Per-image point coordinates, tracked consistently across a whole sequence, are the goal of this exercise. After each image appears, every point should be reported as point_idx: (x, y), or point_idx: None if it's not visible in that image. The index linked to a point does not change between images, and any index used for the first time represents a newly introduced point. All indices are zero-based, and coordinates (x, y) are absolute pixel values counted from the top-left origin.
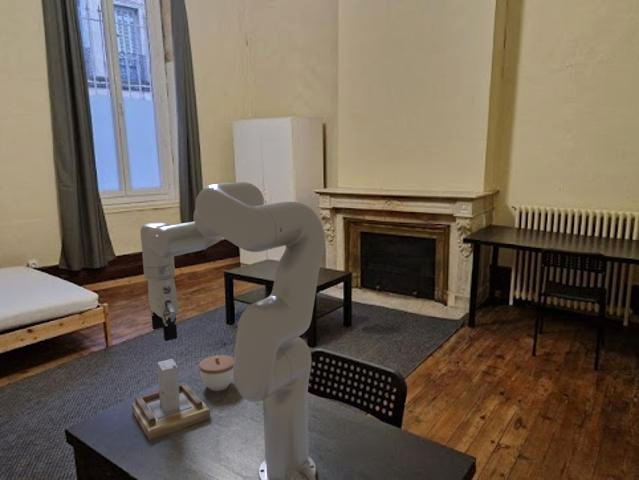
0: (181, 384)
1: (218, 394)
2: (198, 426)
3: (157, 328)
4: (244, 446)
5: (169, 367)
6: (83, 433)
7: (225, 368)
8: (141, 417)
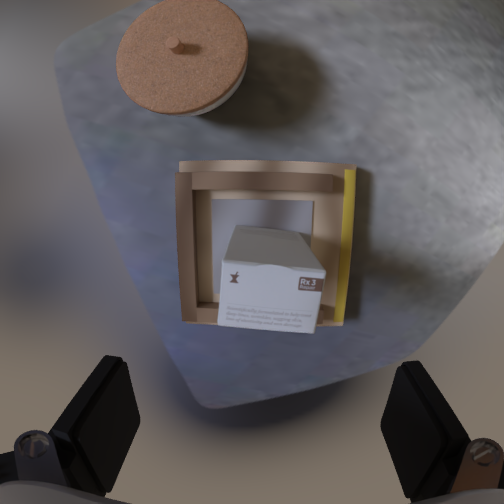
0: (184, 186)
1: (245, 92)
2: (364, 205)
3: (134, 404)
4: (480, 164)
5: (307, 304)
6: (220, 401)
7: (246, 42)
8: None
